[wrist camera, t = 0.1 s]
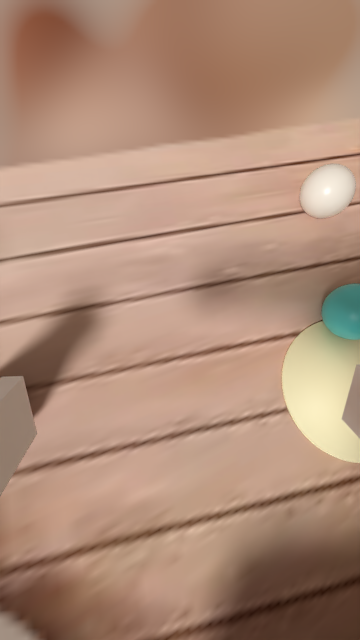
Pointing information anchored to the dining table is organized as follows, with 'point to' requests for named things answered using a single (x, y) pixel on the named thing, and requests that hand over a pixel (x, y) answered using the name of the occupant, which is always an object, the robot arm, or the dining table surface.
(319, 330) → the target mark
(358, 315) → the teal ball
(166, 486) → the dining table surface
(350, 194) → the cue ball
